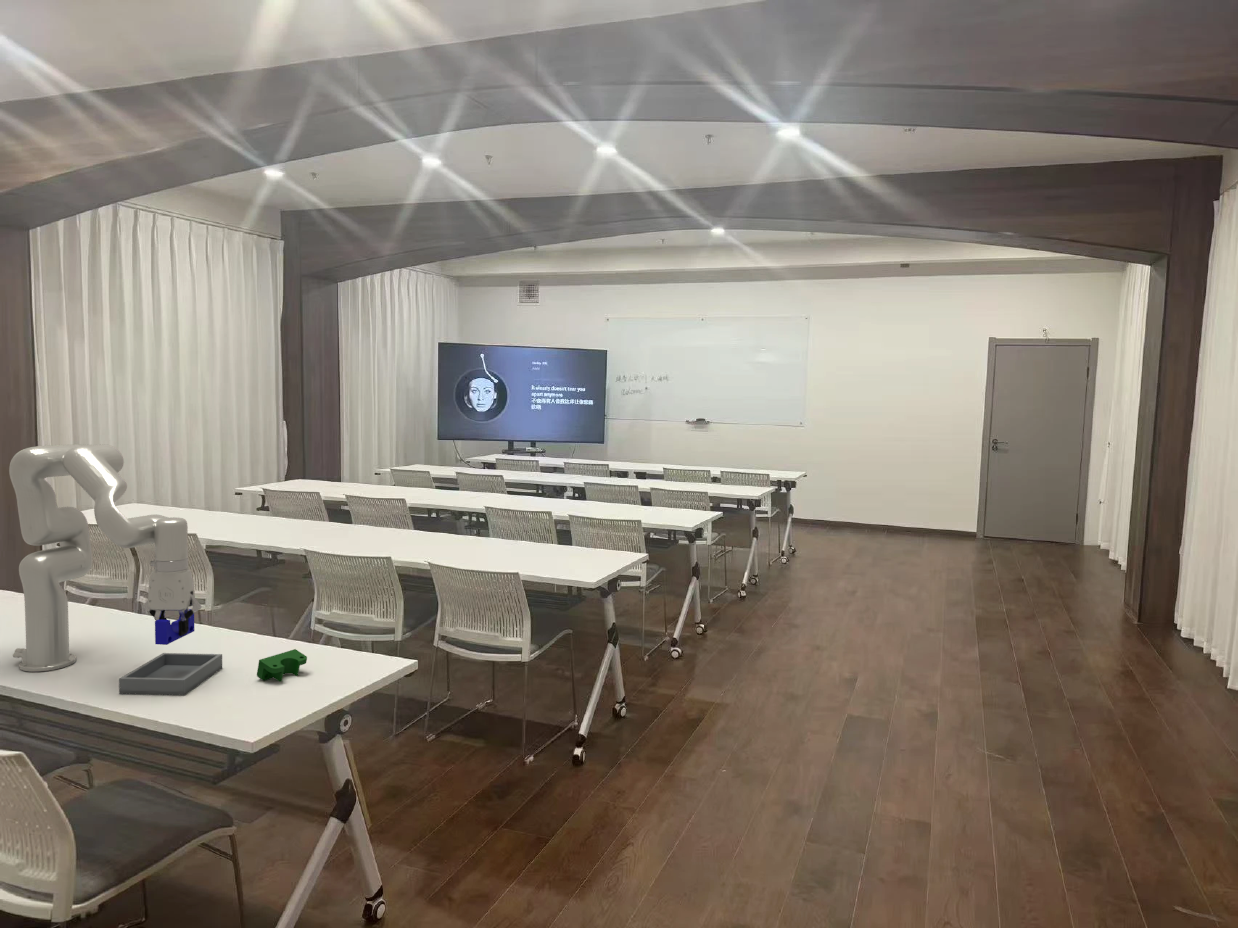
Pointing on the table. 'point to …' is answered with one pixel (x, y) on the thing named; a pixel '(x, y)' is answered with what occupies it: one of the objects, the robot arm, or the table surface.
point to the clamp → (281, 665)
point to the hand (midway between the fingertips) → (172, 633)
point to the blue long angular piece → (170, 630)
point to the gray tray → (170, 674)
